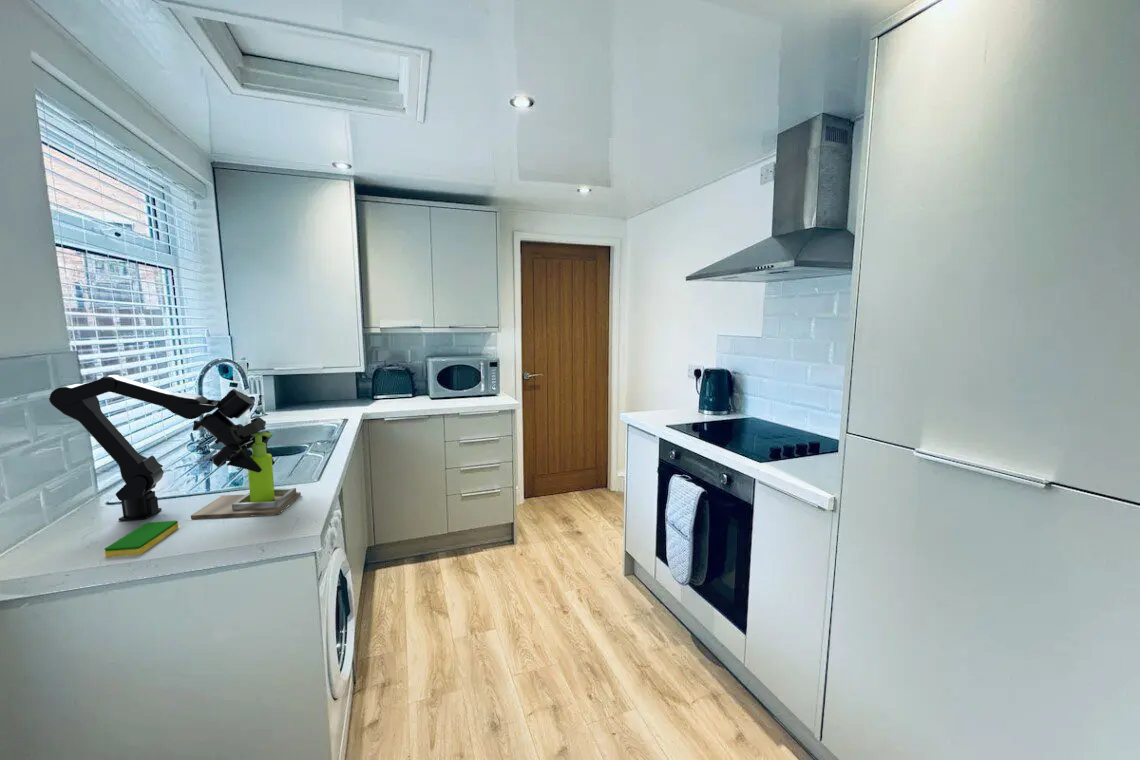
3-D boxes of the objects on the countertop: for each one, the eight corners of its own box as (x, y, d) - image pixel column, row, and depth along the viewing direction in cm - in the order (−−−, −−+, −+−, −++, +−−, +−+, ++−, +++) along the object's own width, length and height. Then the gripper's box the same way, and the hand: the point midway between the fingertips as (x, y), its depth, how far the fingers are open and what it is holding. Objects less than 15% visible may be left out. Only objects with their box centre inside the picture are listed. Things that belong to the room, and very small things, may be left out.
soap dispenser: (268, 504, 130) (263, 435, 128) (245, 503, 131) (240, 434, 128) (282, 496, 136) (278, 430, 134) (260, 495, 137) (256, 430, 134)
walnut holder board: (191, 518, 124) (189, 509, 124) (222, 498, 138) (221, 490, 138) (278, 514, 127) (277, 505, 127) (300, 495, 141) (300, 487, 140)
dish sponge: (104, 558, 105) (103, 548, 104) (148, 530, 118) (147, 521, 118) (140, 556, 106) (138, 546, 106) (179, 528, 119) (178, 520, 119)
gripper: (220, 418, 121) (266, 458, 123) (263, 404, 139) (303, 440, 141) (191, 446, 121) (238, 486, 123) (238, 429, 140) (278, 464, 142)
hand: (267, 467), depth 132 cm, fingers closed on soap dispenser, 6 cm apart
